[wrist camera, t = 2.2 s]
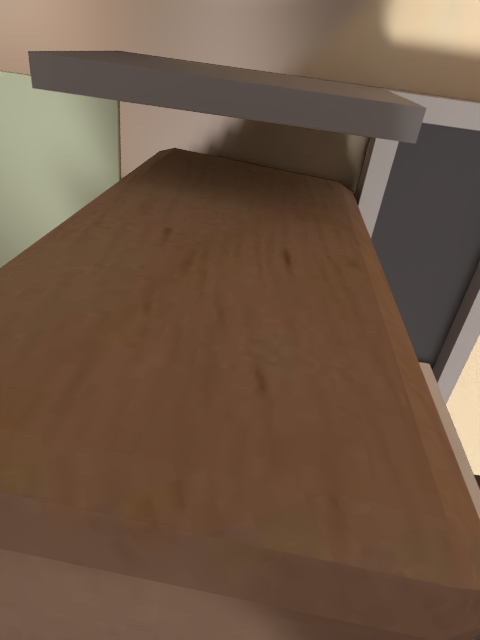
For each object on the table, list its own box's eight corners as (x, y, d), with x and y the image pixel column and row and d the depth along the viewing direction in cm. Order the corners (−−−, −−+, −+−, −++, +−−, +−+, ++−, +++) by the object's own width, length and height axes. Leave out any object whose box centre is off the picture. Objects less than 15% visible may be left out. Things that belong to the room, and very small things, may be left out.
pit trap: (437, 391, 28) (444, 407, 27) (310, 370, 28) (311, 385, 27) (564, 113, 20) (582, 118, 18) (382, 88, 20) (388, 90, 19)
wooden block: (159, 140, 22) (-299, 437, 5) (357, 181, 22) (558, 618, 5) (146, 311, 27) (-102, 740, 10) (306, 344, 27) (322, 829, 10)
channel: (310, 370, 28) (314, 472, 22) (124, 340, 29) (70, 431, 22) (382, 88, 20) (426, 107, 13) (118, 50, 20) (28, 51, 14)
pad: (124, 320, 28) (122, 323, 28) (-17, 298, 28) (-20, 300, 28) (119, 87, 21) (117, 88, 21) (-66, 61, 21) (-70, 61, 21)
